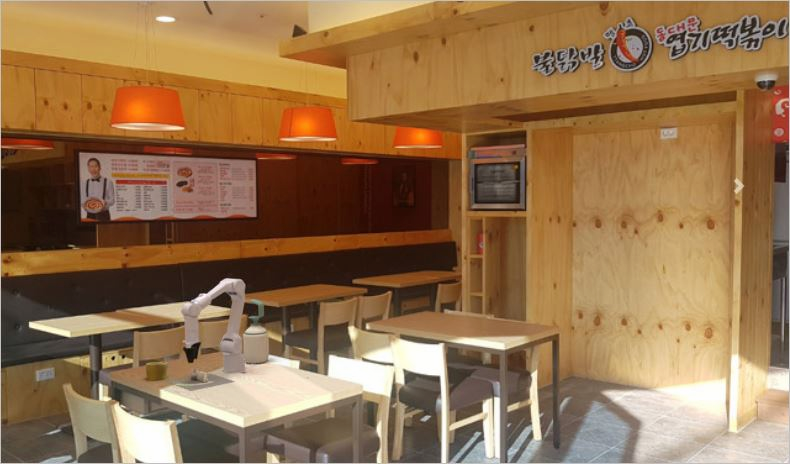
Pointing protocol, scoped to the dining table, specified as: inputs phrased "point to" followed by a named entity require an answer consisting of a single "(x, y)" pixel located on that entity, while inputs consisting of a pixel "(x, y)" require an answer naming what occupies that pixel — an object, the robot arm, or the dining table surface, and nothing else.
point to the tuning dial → (198, 375)
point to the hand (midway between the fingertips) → (192, 360)
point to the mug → (156, 371)
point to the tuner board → (197, 384)
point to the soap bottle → (256, 339)
